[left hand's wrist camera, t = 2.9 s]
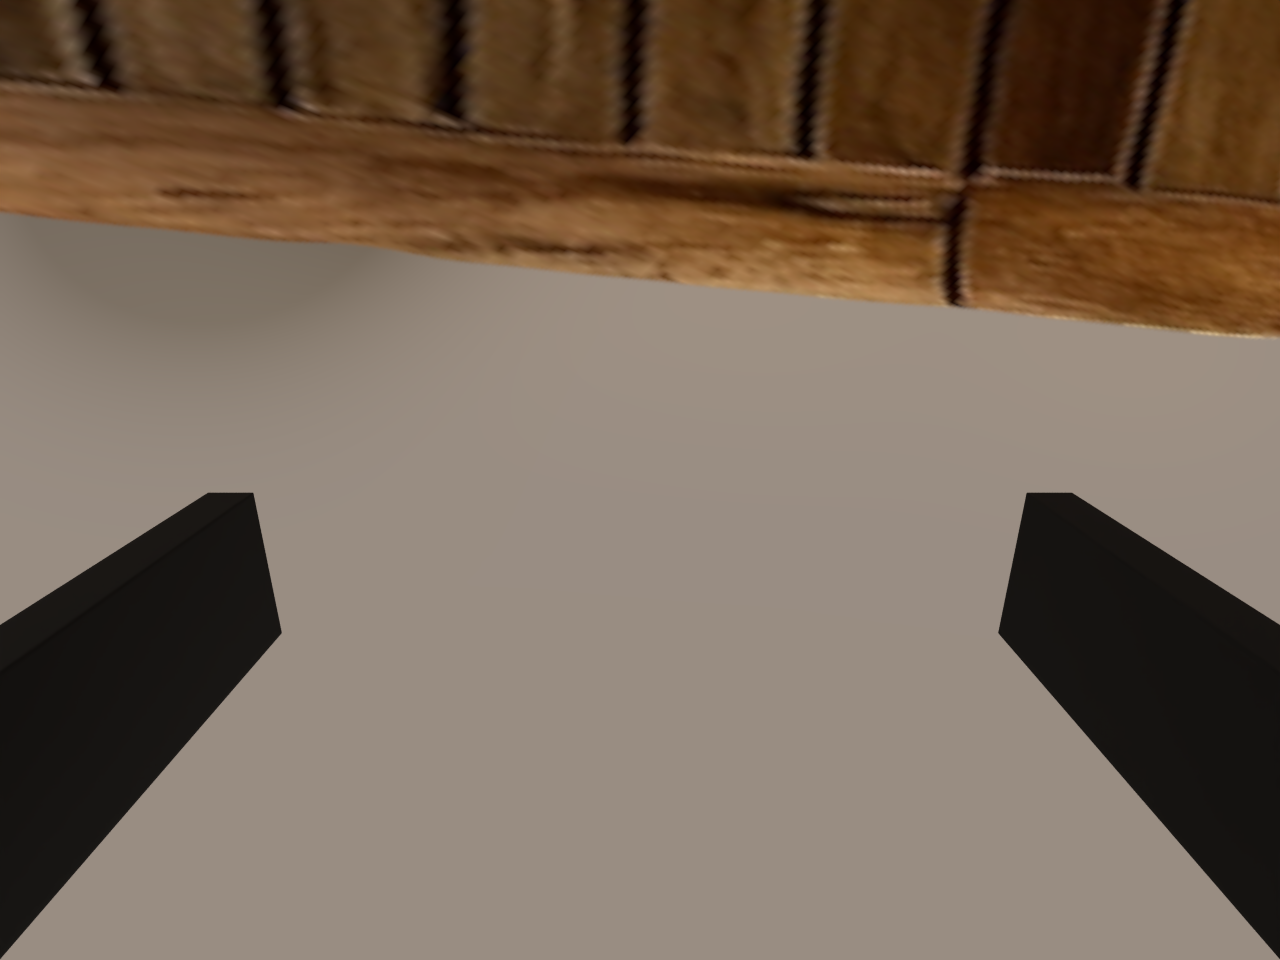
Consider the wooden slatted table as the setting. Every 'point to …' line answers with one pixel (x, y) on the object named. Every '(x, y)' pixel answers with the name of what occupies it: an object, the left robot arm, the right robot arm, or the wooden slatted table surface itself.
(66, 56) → the wooden slatted table surface
